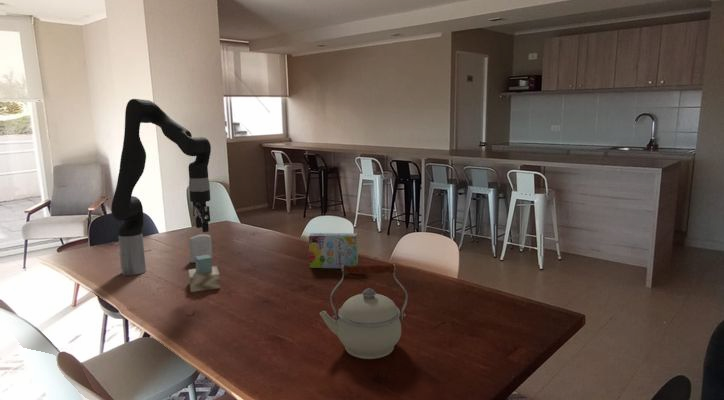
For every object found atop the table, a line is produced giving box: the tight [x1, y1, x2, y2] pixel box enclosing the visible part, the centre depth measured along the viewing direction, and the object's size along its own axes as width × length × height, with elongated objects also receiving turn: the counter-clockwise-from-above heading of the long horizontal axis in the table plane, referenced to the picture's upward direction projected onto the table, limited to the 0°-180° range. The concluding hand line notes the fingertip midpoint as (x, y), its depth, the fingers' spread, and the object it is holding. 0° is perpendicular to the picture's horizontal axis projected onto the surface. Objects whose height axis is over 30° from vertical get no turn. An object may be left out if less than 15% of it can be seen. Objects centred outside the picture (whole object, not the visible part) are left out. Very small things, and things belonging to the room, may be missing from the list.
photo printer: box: [188, 234, 213, 263], centre depth 216 cm, size 10×4×12 cm, turn 134°
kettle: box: [319, 263, 409, 360], centre depth 130 cm, size 25×18×25 cm
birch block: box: [188, 265, 221, 293], centre depth 183 cm, size 11×11×6 cm
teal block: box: [194, 254, 213, 274], centre depth 183 cm, size 5×5×6 cm
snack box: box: [308, 232, 359, 269], centre depth 204 cm, size 21×6×15 cm, turn 84°
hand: (202, 229), depth 181 cm, fingers open, 8 cm apart
